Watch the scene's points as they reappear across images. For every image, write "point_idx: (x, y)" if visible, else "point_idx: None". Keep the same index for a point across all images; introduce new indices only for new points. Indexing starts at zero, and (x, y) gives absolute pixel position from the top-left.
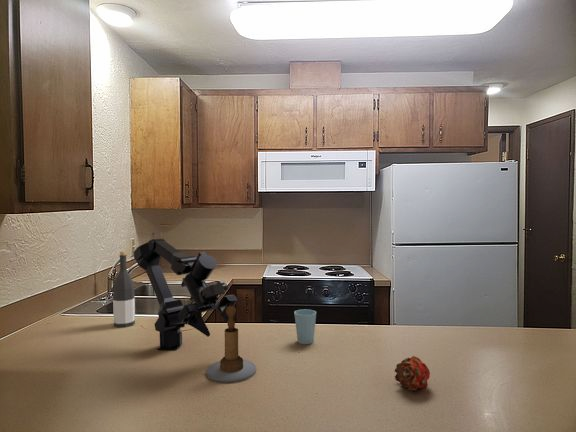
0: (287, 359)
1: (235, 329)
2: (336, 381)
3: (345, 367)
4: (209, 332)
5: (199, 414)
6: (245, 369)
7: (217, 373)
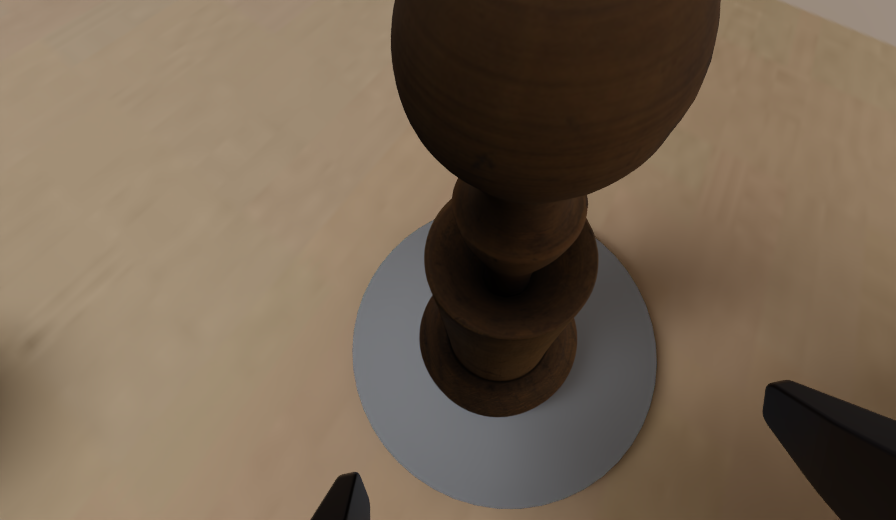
0: (160, 295)
1: (443, 268)
2: (219, 18)
3: (85, 79)
4: (792, 394)
5: (780, 70)
6: None
7: (601, 325)
